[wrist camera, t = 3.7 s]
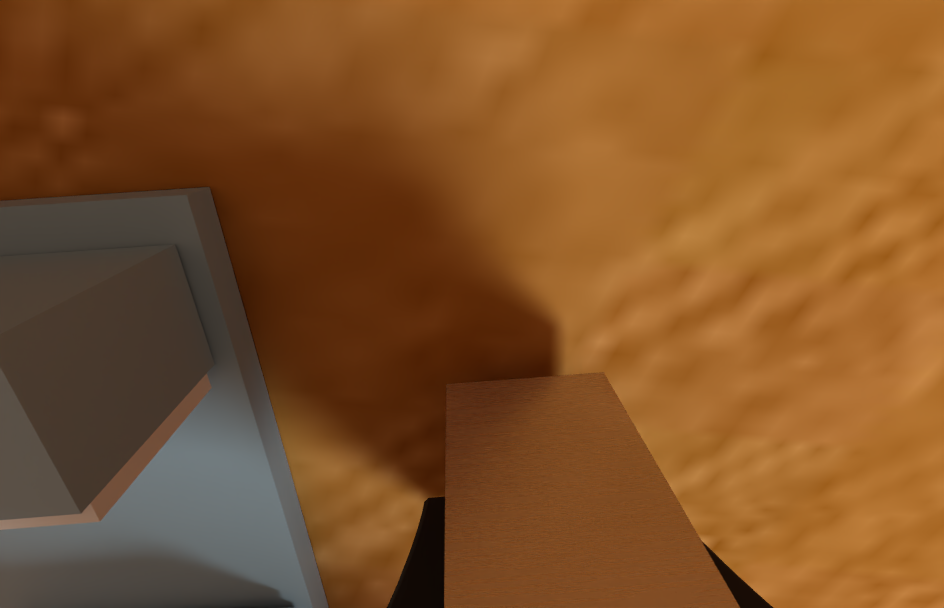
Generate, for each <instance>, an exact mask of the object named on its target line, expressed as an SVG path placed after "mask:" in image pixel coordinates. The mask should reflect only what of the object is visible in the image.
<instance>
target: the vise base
mask: <svg viewBox="0 0 944 608" xmlns="http://www.w3.org/2000/svg"><path fill="white" fill-rule="evenodd" d="M293 606H295V608H329V606H328V603H327V599H326V596H325V592H324V589H323V585H322V582H321V578H320V575H319V571H318V568H317V564H316V561H315V557H314V553H313V550H312V546H311V543H310V539H309V536H308V532H307V529H306V525H305V522H304V518H303V515H302V511H301V508H300V504H299V501H298V497H297V494H296V490H295V486H294V483H293V479H292V476H291V472H290V469H289V465H288V462H287V458H286V455H285V451H284V448H283V444H282V441H281V437H280V434H279V430H278V427H277V423H276V420H275V416H274V412H273V409H272V405H271V402H270V398H269V395H268V391H267V388H266V384H265V381H264V377H263V374H262V370H261V367H260V363H259V360H258V356H257V353H256V349H255V345H254V342H253V338H252V335H251V331H250V328H249V324H248V321H247V317H246V314H245V310H244V307H243V303H242V300H241V296H240V293H239V289H238V286H237V282H236V279H235V275H234V271H233V268H232V264H231V261H230V257H229V254H228V250H227V247H226V243H225V240H224V236H223V233H222V229H221V226H220V222H219V219H218V215H217V212H216V208H215V204H214V201H213V197H212V194H211V190H210V187H200V188H185V189H170V190H155V191H140V192H125V193H110V194H95V195H80V196H65V197H50V198H35V199H20V200H5V201H0V608H281V607H293Z"/></svg>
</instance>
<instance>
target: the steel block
mask: <svg viewBox="0 0 944 608" xmlns="http://www.w3.org/2000/svg"><path fill="white" fill-rule="evenodd" d="M444 608H740V607H739V605H738V603H737V601H736V600H735V598H734V596H733V595H732V593H731V591H730V589H729V588H728V586H727V584H726V582H725V581H724V579H723V577H722V576H721V574H720V572H719V570H718V569H717V567H716V565H715V564H714V562H713V560H712V558H711V557H710V555H709V553H708V551H707V550H706V548H705V546H704V545H703V543H702V541H701V539H700V538H699V536H698V534H697V533H696V531H695V529H694V527H693V526H692V524H691V522H690V520H689V519H688V517H687V515H686V514H685V512H684V510H683V508H682V507H681V505H680V503H679V502H678V500H677V498H676V496H675V495H674V493H673V491H672V489H671V488H670V486H669V484H668V483H667V481H666V479H665V477H664V476H663V474H662V472H661V470H660V469H659V467H658V465H657V464H656V462H655V460H654V458H653V457H652V455H651V453H650V452H649V450H648V448H647V446H646V445H645V443H644V441H643V439H642V438H641V436H640V434H639V433H638V431H637V429H636V427H635V426H634V424H633V422H632V421H631V419H630V417H629V415H628V414H627V412H626V410H625V408H624V407H623V405H622V403H621V402H620V400H619V398H618V396H617V395H616V393H615V391H614V390H613V388H612V386H611V384H610V383H609V381H608V379H607V377H606V376H605V374H604V372H602V373H588V374H575V375H561V376H548V377H535V378H521V379H508V380H494V381H481V382H468V383H454V384H446V465H445V572H444Z"/></svg>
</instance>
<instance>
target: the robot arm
mask: <svg viewBox="0 0 944 608" xmlns="http://www.w3.org/2000/svg"><path fill="white" fill-rule="evenodd" d="M702 543H703V542H702ZM703 545H704V546H705V548H706V550H707V551H708V553H709V555H710V557H711V558H712V560H713V562H714V564H715V565H716V567H717V569H718V570H719V572H720V574H721V576H722V577H723V579H724V581H725V582H726V584H727V586H728V588H729V589H730V591H731V593H732V595H733V596H734V598H735V600H736V601H737V603H738V605H739V607H740V608H773V607H772V606H771V605H770V604H769V603H767V602H766V601H765V600H764V599H763V598H762V597H761V596H759V595H758V594H757V593H756V592H755V591H754V590H753V589H752V588H751V587H750V586H748V585H747V584H746V583H745V582H744V581H743V580H742V579H741V578H740V577H739V576H737V575H736V574H735V573H734V572H733V571H732V570H731V569H730V568H729V567H728V566H727V565H726V564H725V563H724V562H723V561H722V560H721V559H720V558H719V557H718V556H717V555H716V554H715V553H714V552H713V551H712V550H711V549H710V548H709V547H707V546H706V545H705V544H704V543H703ZM444 572H445V497H435V498H428V499H427V500H426V501H425V502H424V506H423V511H422V515H421V519H420V523H419V526H418V529H417V533H416V536H415V539H414V542H413V544H412V547H411V550H410V553H409V556H408V558H407V561H406V563H405V566H404V569H403V571H402V574H401V576H400V579H399V581H398V584H397V586H396V589H395V591H394V593H393V595H392V598H391V600H390V602H389V604H388V606H387V608H444Z"/></svg>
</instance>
